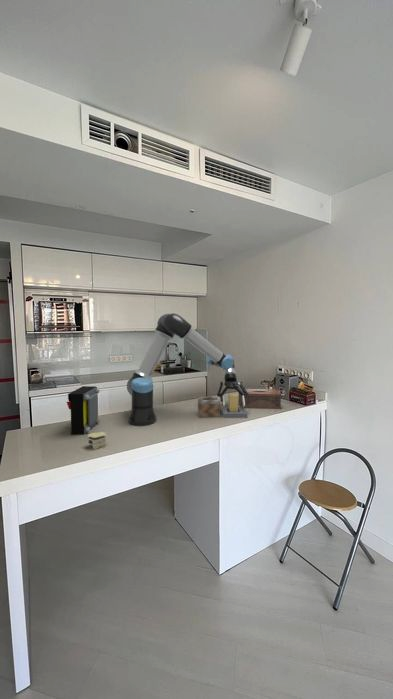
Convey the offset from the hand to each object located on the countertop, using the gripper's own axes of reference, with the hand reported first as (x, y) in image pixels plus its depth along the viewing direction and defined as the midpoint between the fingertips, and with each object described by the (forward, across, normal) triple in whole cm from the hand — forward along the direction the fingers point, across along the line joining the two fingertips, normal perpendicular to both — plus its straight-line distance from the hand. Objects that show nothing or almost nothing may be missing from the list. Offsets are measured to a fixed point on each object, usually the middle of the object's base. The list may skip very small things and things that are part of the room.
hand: (234, 406), depth 173 cm
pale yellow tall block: (+2, 0, -6) cm, 6 cm away
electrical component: (+18, +81, +9) cm, 83 cm away
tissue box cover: (-11, -21, -20) cm, 31 cm away
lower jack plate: (+2, 0, -6) cm, 6 cm away
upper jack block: (+2, +15, -6) cm, 16 cm away
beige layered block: (+34, +69, +25) cm, 81 cm away
